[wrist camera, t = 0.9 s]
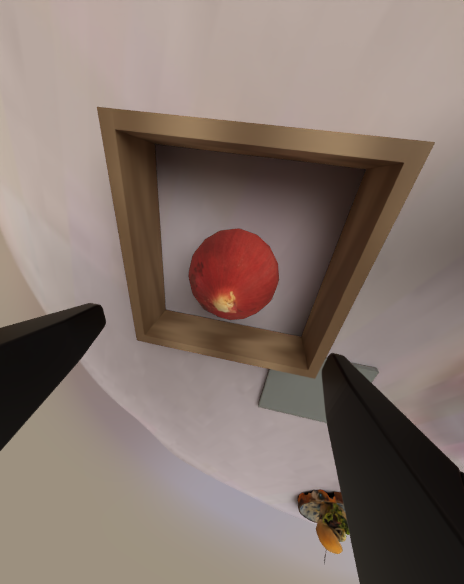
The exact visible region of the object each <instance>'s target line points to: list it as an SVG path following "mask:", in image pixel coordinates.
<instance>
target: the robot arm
mask: <svg viewBox="0 0 464 584" xmlns="http://www.w3.org/2000/svg"><path fill="white" fill-rule="evenodd" d="M105 324H106V319H105V315H104V312H103V308H102V306H101V305H98V304H93V303H88V304H84V305H81V306H77V307H74V308H70V309H66V310H63V311H59V312H56V313H52V314H48V315H45V316H41V317H38V318H34V319H31V320H27V321H23V322H20V323H16V324H13V325H9V326H5V327H2V328H0V451H1V450H2V449H3V448H4V446H5V445H6V444H7V443H8V442H9V441H10V440H11V438H12V437H13V436H14V435H15V434H16V432H18V430H19V429H20V428H21V427H22V426H23V425H24V424H25V422H26V421H27V420H28V419H29V418H30V417H31V415H32V414H33V413H34V412H35V411H36V410H37V409H38V408H39V406H40V405H41V404H42V403H43V402H44V401H45V400H46V398H47V397H48V396H49V395H50V394H51V393H52V392H53V390H54V389H55V388H56V387H57V386H58V385H59V384H60V382H61V381H62V380H63V379H64V378H65V377H66V376H67V374H68V373H69V372H70V371H71V370H72V369H73V368H74V366H75V365H76V364H77V363H78V362H79V361H80V359H81V358H82V357H83V355H84V354H85V353H86V351H87V350H88V349H89V347H90V346H91V345H92V343H93V342H94V340H95V339H96V338H97V336H98V335H99V334H100V332H101V331H102V329H103V328H104V327H105ZM321 374H322V385H323V395H324V405H325V414H326V421H327V426H328V431H329V436H330V441H331V446H332V451H333V455H334V460H335V465H336V470H337V475H338V480H339V485H340V489H341V494H342V499H343V504H344V509H345V514H346V519H347V524H348V528H349V533H350V538H351V543H352V548H353V553H354V558H355V562H356V567H357V572H358V577H359V582H360V584H464V473H463V472H461V471H460V470H459V468H458V467H457V466H456V465H455V464H454V463H453V462H452V461H451V460H450V459H449V458H448V457H447V456H446V455H445V454H444V453H443V452H442V451H441V450H440V449H439V448H438V447H437V446H436V445H435V444H433V443H432V442H431V441H430V440H429V439H428V438H427V437H426V436H425V435H424V434H423V433H422V432H421V431H420V430H419V429H418V428H417V427H416V426H415V425H414V424H413V423H412V422H411V421H410V420H409V419H408V418H407V417H406V416H405V415H404V414H403V413H402V412H401V411H400V410H399V409H398V408H397V407H396V406H395V405H394V404H393V403H392V402H390V401H389V400H388V399H387V398H386V397H385V396H384V395H383V394H382V393H381V392H380V391H379V390H378V389H377V388H376V387H375V386H374V385H373V384H372V383H371V382H370V381H369V380H368V379H367V378H366V377H365V376H364V375H363V374H362V373H361V372H360V371H359V370H358V369H357V368H356V367H355V366H354V365H353V364H352V363H351V362H350V361H348V360H347V359H346V358H345V357H344V356H343V355H339V354H334V353H331V354H330V355H329V356H328V358H327V360H326V362H325V364H324V366H323V368H322V373H321Z"/></svg>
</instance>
